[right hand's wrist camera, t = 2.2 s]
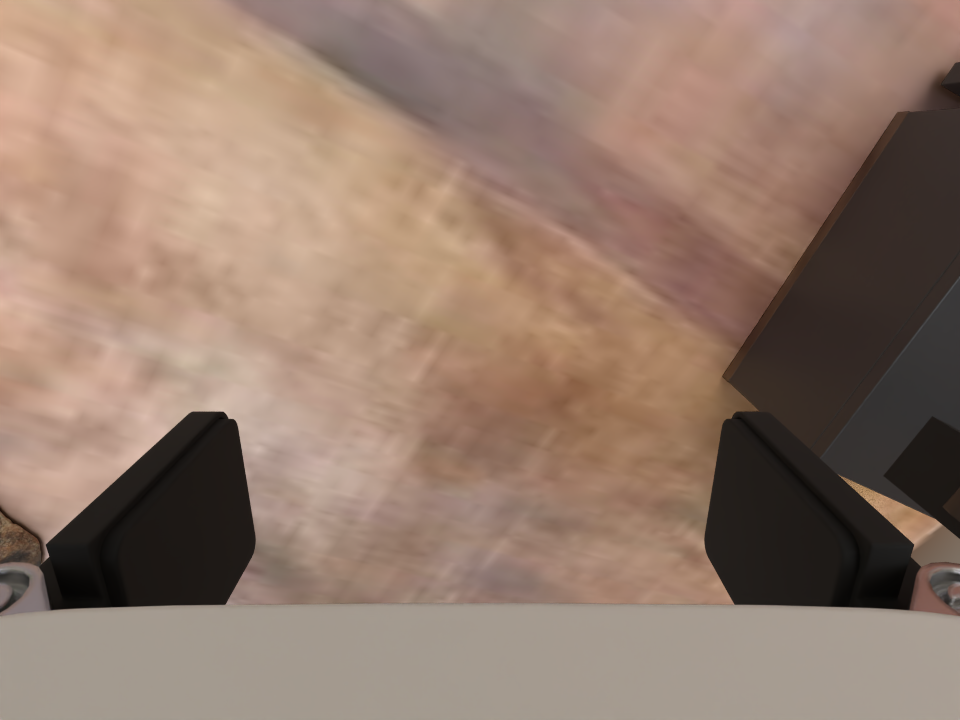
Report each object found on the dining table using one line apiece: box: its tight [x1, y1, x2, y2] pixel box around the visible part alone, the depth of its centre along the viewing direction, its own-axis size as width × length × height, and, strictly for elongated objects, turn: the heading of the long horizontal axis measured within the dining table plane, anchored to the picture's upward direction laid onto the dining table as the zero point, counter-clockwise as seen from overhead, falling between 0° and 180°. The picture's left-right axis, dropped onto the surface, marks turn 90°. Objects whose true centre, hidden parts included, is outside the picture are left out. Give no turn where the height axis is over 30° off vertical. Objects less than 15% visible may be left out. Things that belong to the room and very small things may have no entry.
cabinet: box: [722, 108, 960, 518], centre depth 30 cm, size 17×11×11 cm, turn 155°
